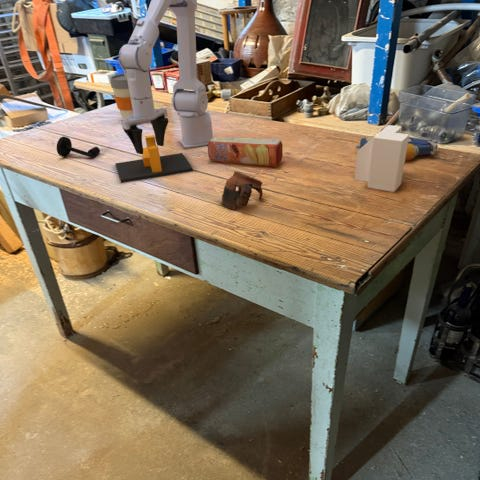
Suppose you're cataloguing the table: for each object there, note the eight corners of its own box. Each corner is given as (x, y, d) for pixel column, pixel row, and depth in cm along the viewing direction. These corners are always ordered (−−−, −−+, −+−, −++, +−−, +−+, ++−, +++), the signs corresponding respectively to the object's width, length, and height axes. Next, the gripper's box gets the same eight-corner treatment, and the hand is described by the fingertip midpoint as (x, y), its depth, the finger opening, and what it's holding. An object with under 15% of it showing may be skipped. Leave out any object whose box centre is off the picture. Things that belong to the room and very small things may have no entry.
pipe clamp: (142, 159, 139) (138, 137, 135) (157, 157, 140) (154, 135, 136) (146, 173, 130) (142, 149, 126) (162, 171, 130) (158, 147, 126)
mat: (182, 155, 142) (182, 152, 142) (193, 170, 132) (192, 168, 131) (115, 165, 138) (115, 163, 138) (121, 182, 127) (120, 179, 127)
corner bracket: (394, 192, 113) (402, 141, 106) (349, 184, 119) (354, 135, 111) (407, 176, 120) (415, 128, 113) (364, 169, 125) (370, 123, 118)
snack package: (207, 163, 136) (204, 139, 132) (216, 155, 141) (214, 132, 137) (276, 169, 129) (276, 144, 125) (284, 161, 134) (284, 137, 129)
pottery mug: (215, 200, 116) (227, 167, 114) (250, 213, 119) (262, 181, 117) (223, 207, 105) (236, 171, 103) (261, 221, 108) (275, 186, 106)
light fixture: (110, 155, 153) (87, 168, 143) (82, 146, 154) (57, 158, 145) (110, 136, 149) (86, 149, 139) (80, 128, 151) (55, 139, 141)
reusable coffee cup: (149, 125, 170) (142, 79, 161) (115, 126, 170) (105, 81, 161) (154, 115, 180) (148, 71, 171) (122, 117, 180) (113, 73, 171)
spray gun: (418, 168, 124) (441, 153, 132) (420, 152, 121) (444, 137, 130) (348, 155, 135) (374, 142, 144) (349, 140, 133) (375, 128, 142)
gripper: (152, 89, 129) (159, 139, 138) (109, 101, 121) (120, 154, 129) (169, 92, 126) (176, 143, 134) (127, 104, 117) (137, 159, 126)
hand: (150, 149), depth 131 cm, fingers open, 7 cm apart
